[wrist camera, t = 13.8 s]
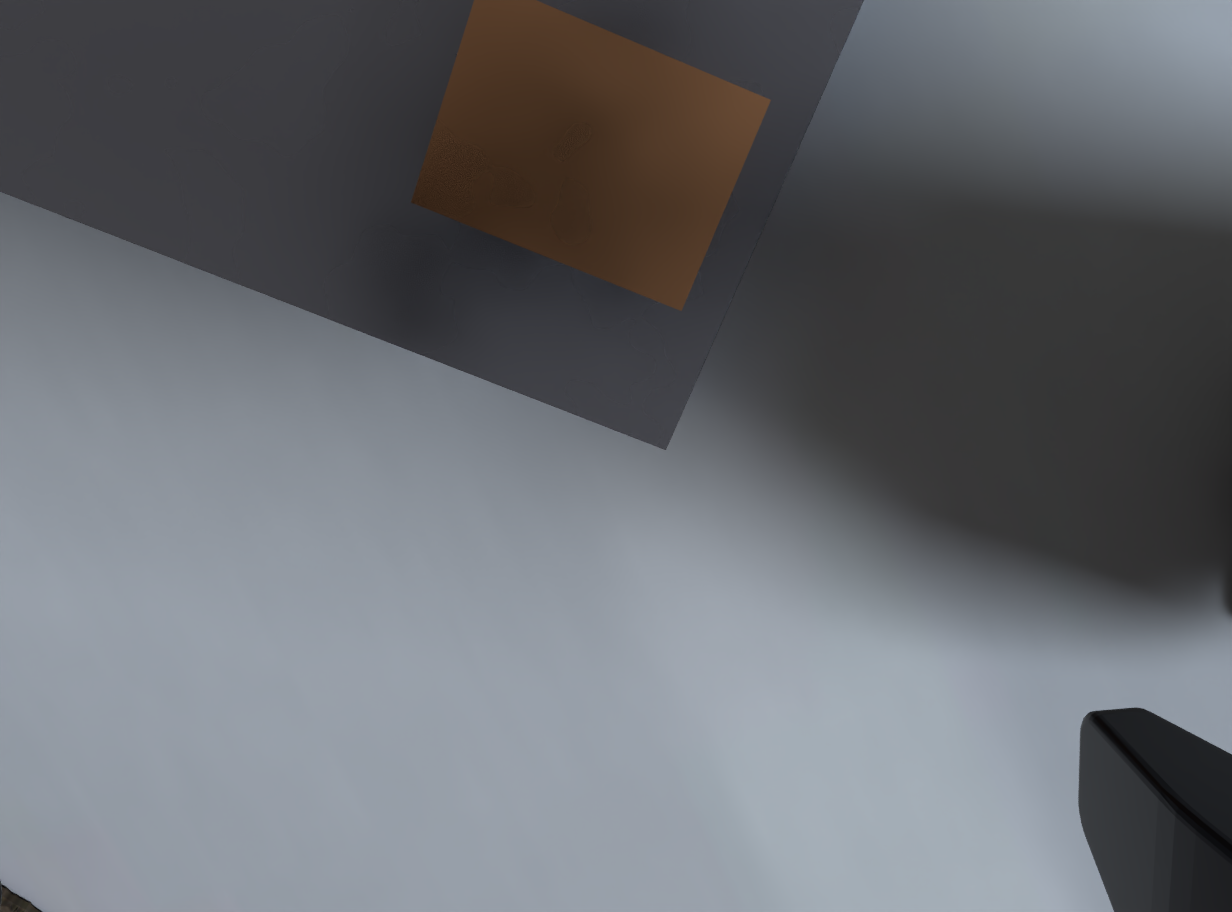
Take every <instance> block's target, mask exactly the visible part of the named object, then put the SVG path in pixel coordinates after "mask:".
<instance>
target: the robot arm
mask: <svg viewBox="0 0 1232 912" xmlns="http://www.w3.org/2000/svg"><path fill="white" fill-rule="evenodd" d="M1078 804H1079V813H1080V818H1081V823H1082V827H1083V831H1084V834H1085V837H1086V839H1087V842H1088V845H1089V847H1090V850H1091V852H1092V855H1093V858H1094V860H1095V863H1096V866H1097V868H1098V871H1099V873H1100V876H1101V879H1102V881H1103V884H1104V886H1105V889H1106V892H1107V894H1108V897H1109V899H1110V902H1111V905H1112V907H1113V910H1114V912H1232V754H1230V753H1228V752H1226V751H1224V750H1222V749H1220V748H1218V747H1216V746H1215V745H1213V744H1211V743H1209V742H1207V741H1205V740H1203V739H1201V738H1199V737H1197V736H1195V735H1194V734H1192V733H1190V732H1188V731H1186V730H1184V729H1182V728H1180V727H1178V726H1176V725H1175V724H1173V723H1171V722H1169V721H1167V720H1165V719H1163V718H1161V717H1159V716H1157V715H1156V714H1154V713H1152V712H1150V711H1147V710H1145V709H1142V708H1125V709H1113V710H1101V711H1092V712H1090V713H1088V714H1087V715H1086V716H1085V717H1084V719H1083V722H1082V725H1081V730H1080V759H1079V794H1078ZM1 900H2V887H1V881H0V905H1Z"/></svg>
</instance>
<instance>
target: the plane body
mask: <svg viewBox="0 0 1232 912" xmlns="http://www.w3.org/2000/svg"><path fill="white" fill-rule="evenodd" d="M863 1H864V0H0V192H3V193H5V194H8V195H11V196H13V197H16V198H18V199H21V200H24V201H26V202H29V203H31V204H34V205H36V206H39V207H42V208H44V209H47V210H49V211H52V212H54V213H57V214H60V215H62V216H65V217H67V218H70V219H72V220H75V221H78V222H80V223H83V224H85V225H88V226H90V227H93V228H96V229H98V230H101V231H103V232H106V233H108V234H111V235H114V236H116V237H119V238H121V239H124V240H126V241H129V242H132V243H134V244H137V245H139V246H142V247H145V248H147V249H150V250H152V251H155V252H157V253H160V254H163V255H165V256H168V257H170V258H173V259H175V260H178V261H181V262H183V263H186V264H188V265H191V266H193V267H196V268H199V269H201V270H204V271H206V272H209V273H211V274H214V275H217V276H219V277H222V278H224V279H227V280H229V281H232V282H235V283H237V284H240V285H242V286H245V287H247V288H250V289H253V290H255V291H258V292H260V293H263V294H266V295H268V296H271V297H273V298H276V299H278V300H281V301H284V302H286V303H289V304H291V305H294V306H296V307H299V308H302V309H304V310H307V311H309V312H312V313H314V314H317V315H320V316H322V317H325V318H327V319H330V320H332V321H335V322H338V323H340V324H343V325H345V326H348V327H350V328H353V329H356V330H358V331H361V332H363V333H366V334H368V335H371V336H374V337H376V338H379V339H381V340H384V341H387V342H389V343H392V344H394V345H397V346H399V347H402V348H405V349H407V350H410V351H412V352H415V353H417V354H420V355H423V356H425V357H428V358H430V359H433V360H435V361H438V362H441V363H443V364H446V365H448V366H451V367H453V368H456V369H459V370H461V371H464V372H466V373H469V374H471V375H474V376H477V377H479V378H482V379H484V380H487V381H489V382H492V383H495V384H497V385H500V386H502V387H505V388H507V389H510V390H513V391H515V392H518V393H520V394H523V395H526V396H528V397H531V398H533V399H536V400H538V401H541V402H544V403H546V404H549V405H551V406H554V407H556V408H559V409H562V410H564V411H567V412H569V413H572V414H574V415H577V416H580V417H582V418H585V419H587V420H590V421H592V422H595V423H598V424H600V425H603V426H605V427H608V428H610V429H613V430H616V431H618V432H621V433H623V434H626V435H628V436H631V437H634V438H636V439H639V440H641V441H644V442H647V443H649V444H652V445H654V446H657V447H659V448H662V449H665V450H666V448H667V446H668V444H669V441H670V439H671V437H672V435H673V432H674V430H675V428H676V425H677V423H678V421H679V419H680V416H681V414H682V412H683V410H684V407H685V405H686V403H687V400H688V398H689V396H690V394H691V391H692V389H693V387H694V385H695V382H696V380H697V378H698V376H699V373H700V371H701V369H702V366H703V364H704V362H705V360H706V357H707V355H708V353H709V351H710V348H711V346H712V344H713V341H714V339H715V337H716V335H717V332H718V330H719V328H720V326H721V323H722V321H723V319H724V316H725V314H726V312H727V310H728V307H729V305H730V303H731V301H732V298H733V296H734V294H735V292H736V289H737V287H738V285H739V282H740V280H741V278H742V276H743V273H744V271H745V269H746V267H747V264H748V262H749V260H750V257H751V255H752V253H753V251H754V248H755V246H756V244H757V242H758V239H759V237H760V235H761V233H762V230H763V228H764V226H765V223H766V221H767V219H768V217H769V214H770V212H771V210H772V208H773V205H774V203H775V201H776V198H777V196H778V194H779V192H780V189H781V187H782V185H783V183H784V180H785V178H786V176H787V173H788V171H789V169H790V167H791V164H792V162H793V160H794V158H795V155H796V153H797V151H798V149H799V146H800V144H801V142H802V139H803V137H804V135H805V133H806V130H807V128H808V126H809V124H810V121H811V119H812V117H813V114H814V112H815V110H816V108H817V105H818V103H819V101H820V99H821V96H822V94H823V92H824V90H825V87H826V85H827V83H828V80H829V78H830V76H831V74H832V71H833V69H834V67H835V65H836V62H837V60H838V58H839V55H840V53H841V51H842V49H843V46H844V44H845V42H846V40H847V37H848V35H849V33H850V30H851V28H852V26H853V24H854V21H855V19H856V17H857V15H858V12H859V10H860V8H861V6H862V3H863Z"/></svg>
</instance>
